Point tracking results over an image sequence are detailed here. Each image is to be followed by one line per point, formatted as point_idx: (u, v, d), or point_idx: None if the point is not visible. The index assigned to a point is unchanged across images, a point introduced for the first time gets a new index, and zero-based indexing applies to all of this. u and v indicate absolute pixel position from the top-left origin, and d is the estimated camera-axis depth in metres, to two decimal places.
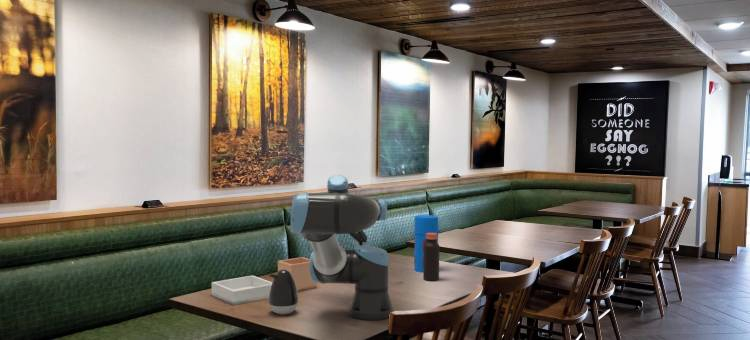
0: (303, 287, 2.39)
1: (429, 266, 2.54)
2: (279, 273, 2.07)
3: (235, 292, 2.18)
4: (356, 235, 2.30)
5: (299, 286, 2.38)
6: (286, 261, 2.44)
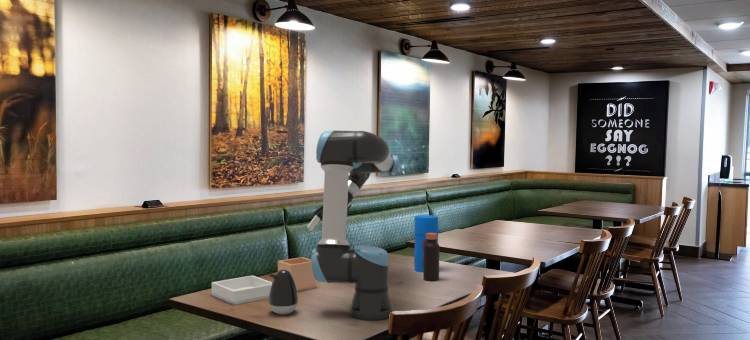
0: (303, 287, 2.39)
1: (429, 266, 2.54)
2: (279, 273, 2.07)
3: (235, 292, 2.18)
4: None
5: (299, 286, 2.38)
6: (286, 261, 2.44)
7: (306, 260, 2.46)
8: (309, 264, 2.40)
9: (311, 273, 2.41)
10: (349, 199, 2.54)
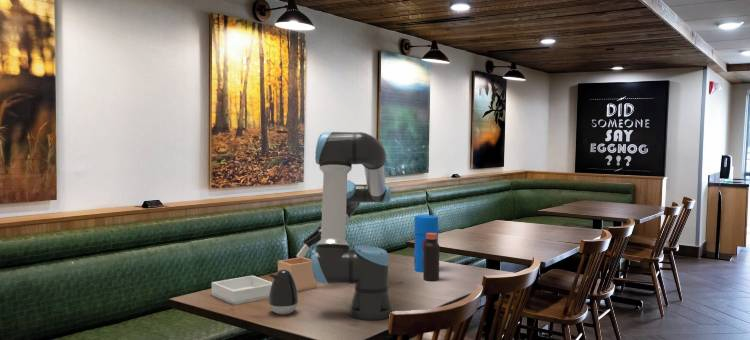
0: (303, 287, 2.39)
1: (429, 266, 2.54)
2: (279, 273, 2.06)
3: (235, 292, 2.18)
4: None
5: (299, 286, 2.38)
6: (286, 261, 2.44)
7: (306, 260, 2.46)
8: (309, 264, 2.40)
9: (311, 273, 2.41)
10: None
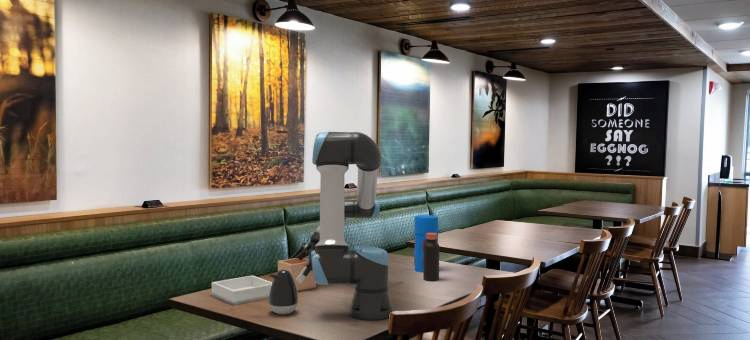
0: (303, 287, 2.39)
1: (429, 266, 2.54)
2: (279, 273, 2.07)
3: (235, 292, 2.18)
4: (312, 260, 2.41)
5: (299, 286, 2.38)
6: (286, 261, 2.44)
7: (306, 260, 2.46)
8: None
9: (311, 273, 2.41)
10: None
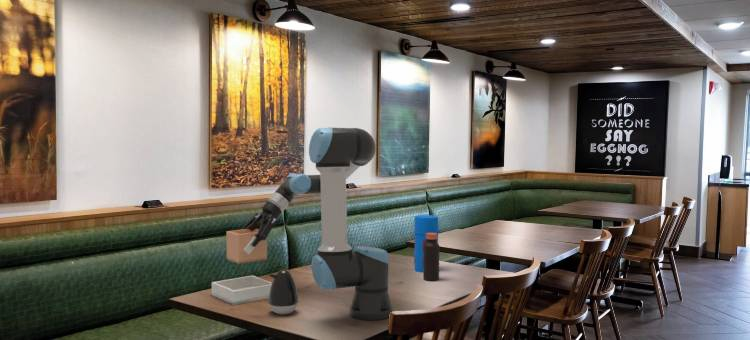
0: (252, 258, 2.27)
1: (429, 266, 2.54)
2: (279, 273, 2.07)
3: (235, 292, 2.18)
4: (262, 230, 2.29)
5: (247, 257, 2.26)
6: (236, 232, 2.32)
7: (257, 231, 2.34)
8: None
9: (261, 244, 2.29)
10: (276, 213, 2.34)
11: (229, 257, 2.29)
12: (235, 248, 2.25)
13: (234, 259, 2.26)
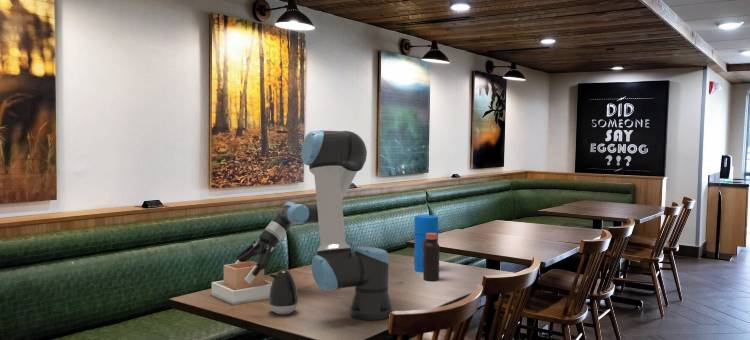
0: None
1: (429, 266, 2.54)
2: (279, 273, 2.07)
3: (235, 292, 2.18)
4: (262, 259, 2.28)
5: None
6: (233, 265, 2.31)
7: (254, 264, 2.34)
8: None
9: (258, 278, 2.29)
10: (273, 243, 2.34)
11: None
12: (232, 283, 2.24)
13: None
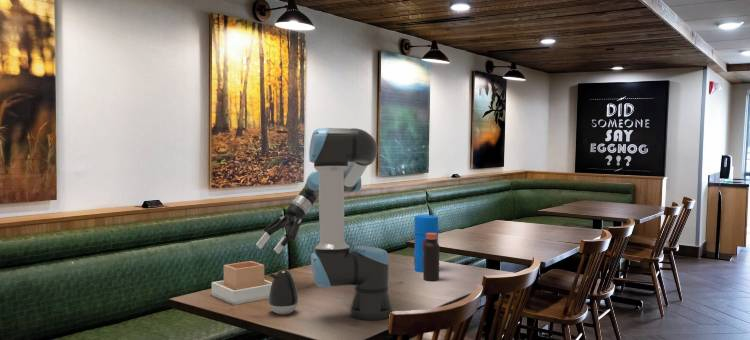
0: None
1: (429, 266, 2.54)
2: (279, 273, 2.07)
3: (235, 292, 2.18)
4: (290, 231, 2.36)
5: None
6: (233, 265, 2.31)
7: (254, 264, 2.34)
8: (256, 268, 2.28)
9: (258, 278, 2.29)
10: (300, 215, 2.42)
11: None
12: (232, 283, 2.24)
13: None
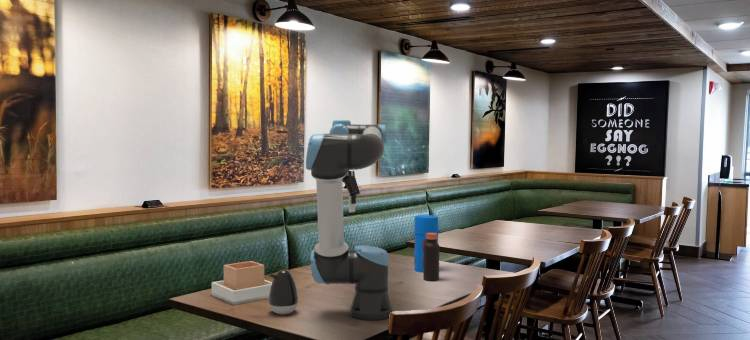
0: None
1: (429, 266, 2.54)
2: (279, 273, 2.07)
3: (235, 292, 2.18)
4: (350, 187, 2.37)
5: None
6: (233, 265, 2.31)
7: (254, 264, 2.34)
8: (256, 268, 2.28)
9: (258, 278, 2.29)
10: None
11: None
12: (232, 283, 2.24)
13: None
